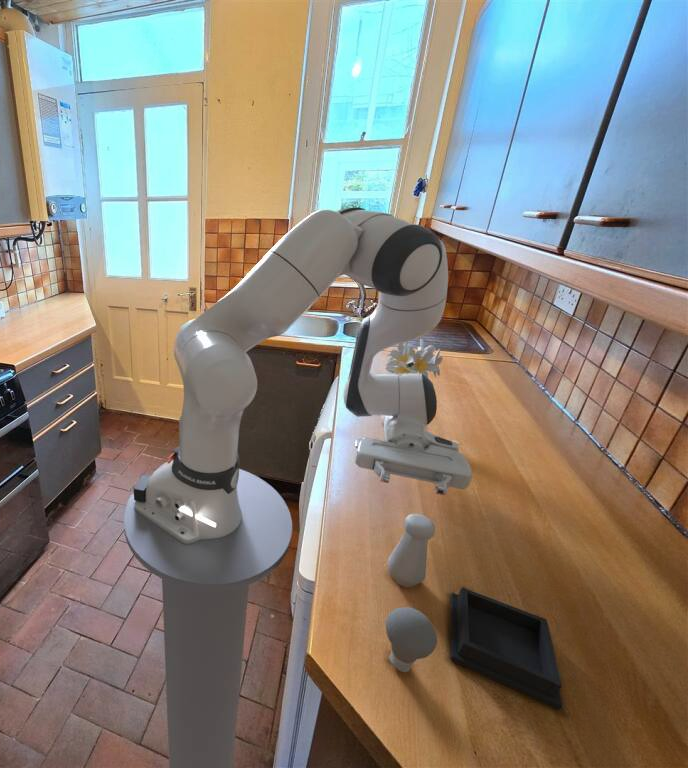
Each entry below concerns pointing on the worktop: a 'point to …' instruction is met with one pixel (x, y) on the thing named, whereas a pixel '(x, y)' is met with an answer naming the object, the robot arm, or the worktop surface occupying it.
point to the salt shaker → (411, 551)
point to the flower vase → (414, 360)
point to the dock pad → (505, 645)
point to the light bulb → (409, 637)
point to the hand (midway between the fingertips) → (412, 485)
